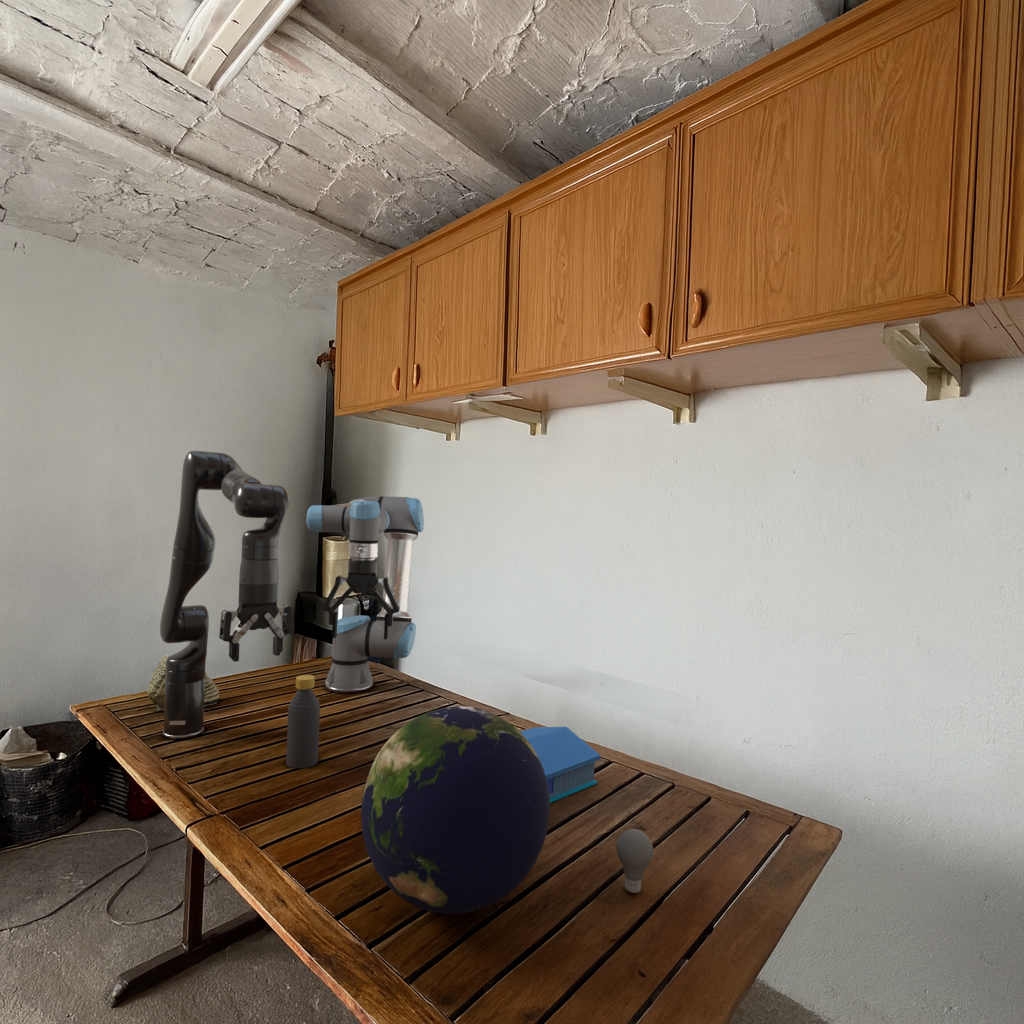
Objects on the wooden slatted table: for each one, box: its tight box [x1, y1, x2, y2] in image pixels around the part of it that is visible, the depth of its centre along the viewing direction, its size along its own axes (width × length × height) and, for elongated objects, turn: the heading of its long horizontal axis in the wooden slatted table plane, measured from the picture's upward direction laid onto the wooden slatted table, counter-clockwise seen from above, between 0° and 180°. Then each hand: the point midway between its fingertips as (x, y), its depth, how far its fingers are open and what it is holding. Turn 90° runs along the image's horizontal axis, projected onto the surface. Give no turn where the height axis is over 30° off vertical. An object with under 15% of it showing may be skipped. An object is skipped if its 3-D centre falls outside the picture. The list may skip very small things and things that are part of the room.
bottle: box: [285, 688, 321, 769], centre depth 150 cm, size 7×7×20 cm
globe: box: [360, 705, 551, 915], centre depth 102 cm, size 30×30×30 cm
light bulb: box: [615, 828, 654, 894], centre depth 106 cm, size 6×6×10 cm
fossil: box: [147, 654, 221, 712], centre depth 185 cm, size 9×18×15 cm, turn 132°
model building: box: [519, 726, 601, 804], centre depth 139 cm, size 39×24×10 cm, turn 132°
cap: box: [295, 674, 316, 690], centre depth 150 cm, size 4×4×2 cm
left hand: (256, 657), depth 132 cm, fingers open, 8 cm apart
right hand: (360, 637), depth 170 cm, fingers open, 13 cm apart
